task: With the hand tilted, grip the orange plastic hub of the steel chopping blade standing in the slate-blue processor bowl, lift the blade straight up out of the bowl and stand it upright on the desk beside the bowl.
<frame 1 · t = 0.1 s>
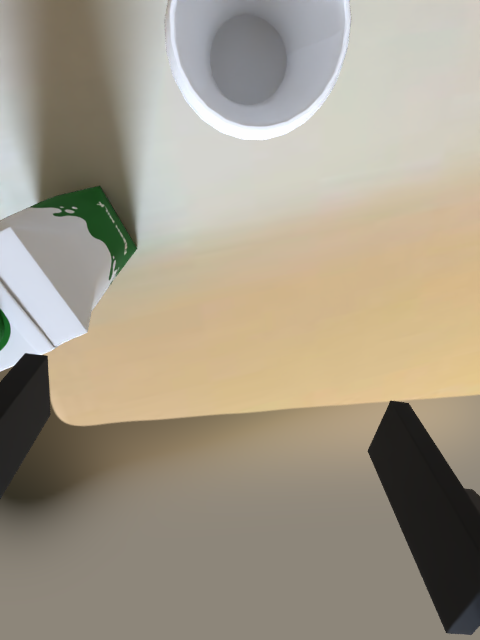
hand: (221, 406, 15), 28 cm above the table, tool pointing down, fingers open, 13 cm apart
milk carton: (91, 232, 40), on the table
cup: (246, 66, 34), on the table
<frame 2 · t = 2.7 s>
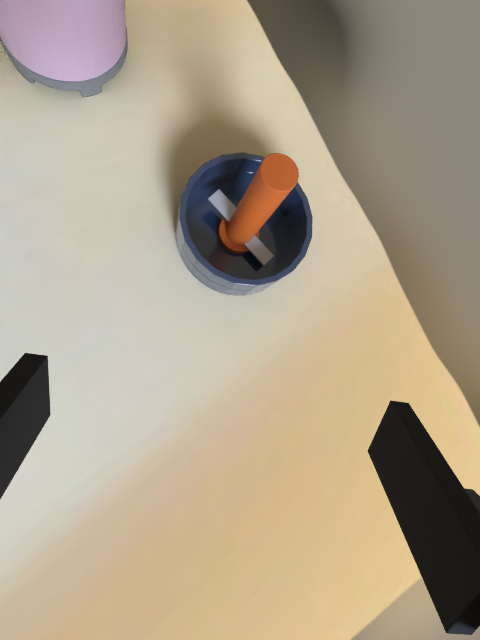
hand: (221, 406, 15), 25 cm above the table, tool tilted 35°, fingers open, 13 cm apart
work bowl: (236, 236, 43), on the table
blender: (71, 33, 41), on the table
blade: (237, 234, 42), point 1 cm above the table, touching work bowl
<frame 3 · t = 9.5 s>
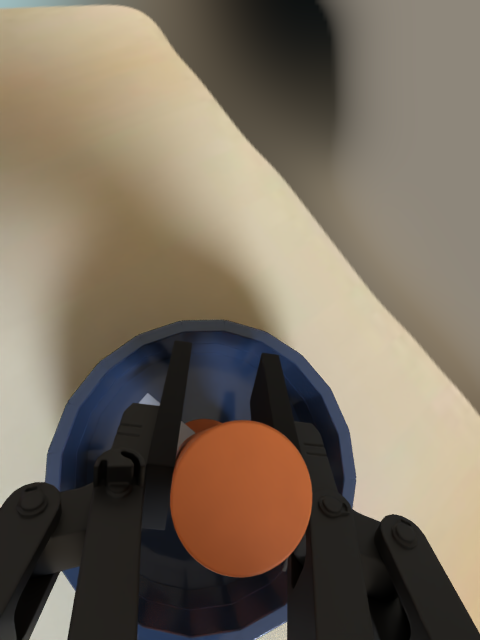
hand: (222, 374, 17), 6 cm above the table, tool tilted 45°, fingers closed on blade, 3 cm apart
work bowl: (201, 460, 22), on the table
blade: (202, 460, 21), point 1 cm above the table, touching gripper, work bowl
when the fingers open (6 cm above the table, at t = 17.1 s): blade stays where it is, on the table.
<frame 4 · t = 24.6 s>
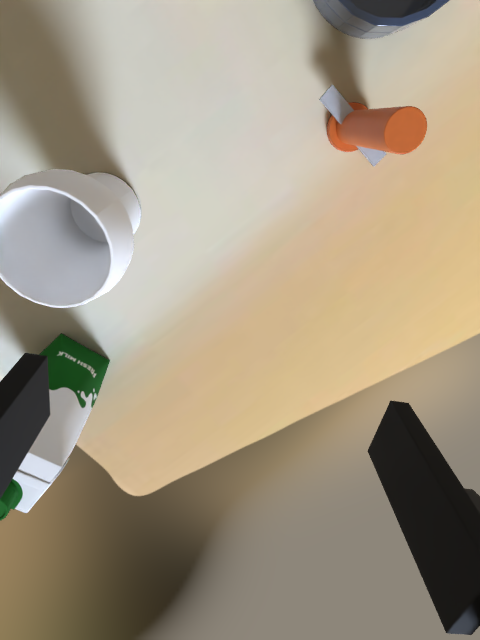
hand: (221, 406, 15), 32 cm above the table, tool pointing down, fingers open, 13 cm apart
milk carton: (74, 364, 51), on the table
cup: (105, 209, 42), on the table
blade: (348, 127, 39), on the table
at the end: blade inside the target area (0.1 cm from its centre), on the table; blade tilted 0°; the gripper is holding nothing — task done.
